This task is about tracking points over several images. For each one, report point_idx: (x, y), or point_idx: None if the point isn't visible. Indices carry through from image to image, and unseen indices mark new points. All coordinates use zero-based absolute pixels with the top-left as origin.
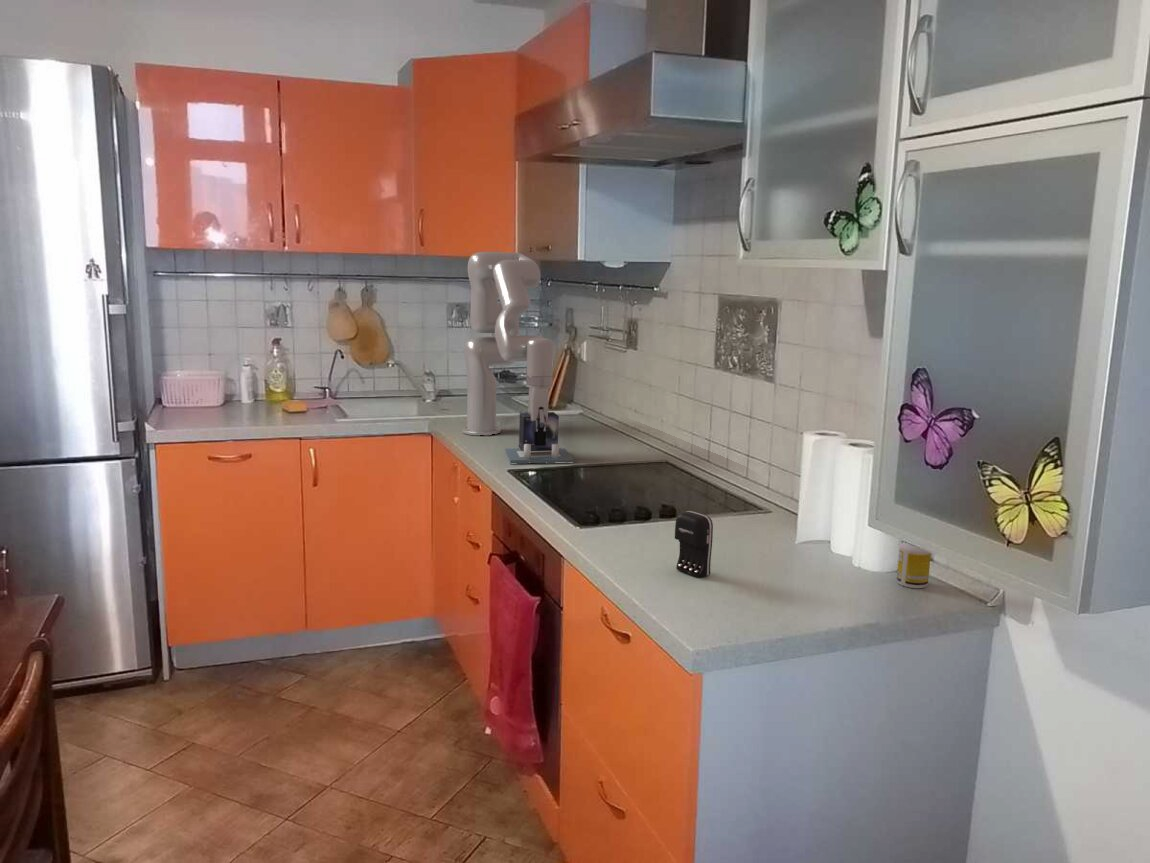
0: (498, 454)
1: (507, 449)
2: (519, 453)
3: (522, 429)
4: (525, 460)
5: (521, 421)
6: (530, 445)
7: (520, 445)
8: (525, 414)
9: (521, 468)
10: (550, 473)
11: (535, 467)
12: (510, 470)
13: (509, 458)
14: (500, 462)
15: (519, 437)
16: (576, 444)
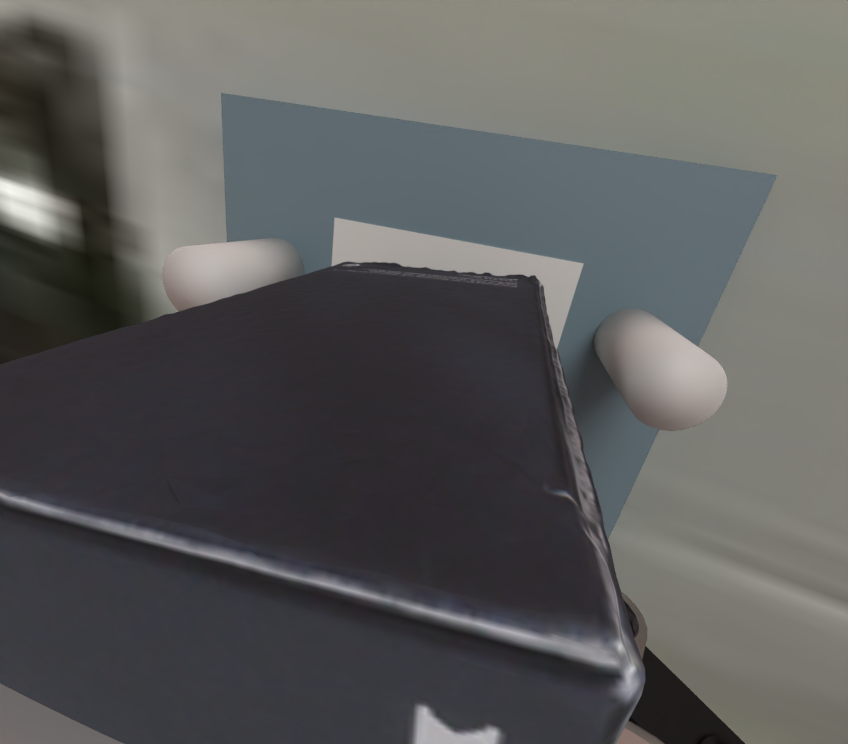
0: (697, 76)
1: (712, 189)
2: (469, 258)
3: (252, 312)
4: (227, 235)
5: (269, 375)
6: (181, 310)
7: (447, 275)
8: (95, 646)
9: (128, 166)
10: (31, 313)
11: (161, 276)
12: (63, 55)
13: (297, 104)
14: (330, 19)
15: (505, 296)
16: (753, 740)
